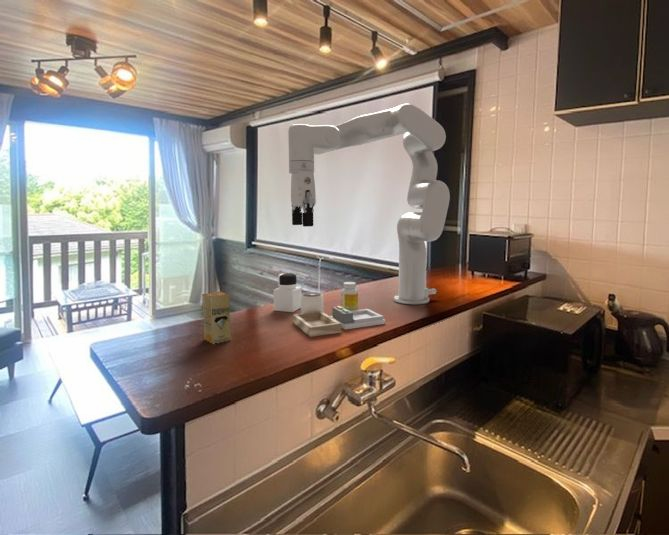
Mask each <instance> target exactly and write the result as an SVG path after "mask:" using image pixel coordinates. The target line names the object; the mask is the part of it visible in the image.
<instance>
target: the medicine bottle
mask: <svg viewBox="0 0 669 535" xmlns="http://www.w3.org/2000/svg"><path fill="white" fill-rule="evenodd" d="M277 281H278V282H277V283H278V284H277V286H278V287H277V288H275V289H273V291H272V292H273V294H272V295H273V297H272V298H273V299H272V300H273V311H274V312H275V311H276V312H286V313H294V312H295V311H296V312H297V310H299V309H301V294H302V287H301V286H297V283H298V282H297V281H298V280H297V274H295V273H294V272H293V273H292V272H284V273H280V274H278V276H277Z"/></svg>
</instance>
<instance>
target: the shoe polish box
mask: <svg viewBox="0 0 669 535" xmlns="http://www.w3.org/2000/svg"><path fill="white" fill-rule="evenodd" d="M201 297H202V315H203V317H202V318H203V335H204V336H203V337H204V341H206V340H207V341H206V342H208V341H209V342H210V344H211V343H212V344H211V345H216V344H215V343H217V344H221V343H225V342H229V340H230V341H232V333H231V332H232V330H231V327H232V326H231V309H230V308H231V307H230V305H231V304H230V294H229V293H226V292H222V291H216V292H215V291H214V292H208V293H202V294H201ZM224 341H225V342H224ZM209 342H208V343H209ZM220 342H221V343H220Z"/></svg>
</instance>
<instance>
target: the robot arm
mask: <svg viewBox="0 0 669 535" xmlns="http://www.w3.org/2000/svg"><path fill="white" fill-rule="evenodd" d="M287 132H288V134H287V136H288V139H287V140H288V173H289V174H290V175H291V180H290V203H291V224H292V226H302V227H304V228H305V227H313V226H314V210H315V209H314V207H315V206H316V204H317V198H316V183H315V181H316V180H315V175H314V173H315V155H322V154H325V153H329V152H333V151H337V150H340V149H344V148H349V147H357V146H361V145H365V144H371V143H373V142H376V141H380V140H384V139H388V138H391V137H392V138H393V137H395V136H399V135H402V134H404V135H403V138H402V144H403V148H404V149H405V151H406V153H407V154H408V156H409V158H410V160H411V163H412V171H411V178H410V182H409V185H408V186H409V187H408V191H407V197H406V201H407V204H408V205H409V207H411V208H412V209H416V210H421V211H420V212H419V211H417V212H416V211H415V212H414V211H413V212H412V211H411V212H410V211H409V212H406V213H404V214H402V215H401V216H400V218H399V219H398V221H397V224H396V231H397V239H398V252H399V254H398V288H397V291H398V293H397V295H396V294H395V295H394V296H393V301H394V302H396V303H399V304H403V305H425V304H428V303H429V302H430V297H428V296H429V295H436V293H437V289H436V288H427V287H426V286H427V285H426V279H427V278H426V277H427V245H426V243H425V242H434V241H436V240H438V239H439V238H440V236H441V235H442V233H443V231H444V227H445V225H446V224H445V223H446V218H447V214H448V209H449V207H450V206H449V205H450V200H451V196H450V195H451V194H450V189H449V187H448V186H447V184H446V183H445V182H443V181H442V180H437V176H438V162H437V158H436V157H435V155H434V151H437V150H439V149H441V148H442V147H443V146H444V144H445V143H446V138H447V135H446V131H445V129H444V127H443V126H442V125H441V124H440V123H439V122H438V121H436V119H434V118H433V117H432V116H430V115H429V114H427V113H426V112H425V111H423V110H422V109H421V108H419V107H418V106H416V105H414V104H411V103H403V104H400V105H398V106H395V107H393V108H389V109H385V110H381V111H377V112H373V113H368V114H362V115H360V116H356V117H354V118H351V119H349V120H347V121H344V122H342V123H339V124H335V125H330V124H323V125H309V124H305V123H304V124H303V123H298V124H297V123H296V124H295V123H294V124H292V125H290V126H289V128H288V131H287ZM302 211H303V212H302Z"/></svg>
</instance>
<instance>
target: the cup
mask: <svg viewBox="0 0 669 535" xmlns="http://www.w3.org/2000/svg"><path fill="white" fill-rule="evenodd" d="M319 311H322V312H324V293H323V292H317V291H316V292H315V291H311V292H310V291H309V292H307V291H306V292H301V308H300V314H303V313H311V312H319Z"/></svg>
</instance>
